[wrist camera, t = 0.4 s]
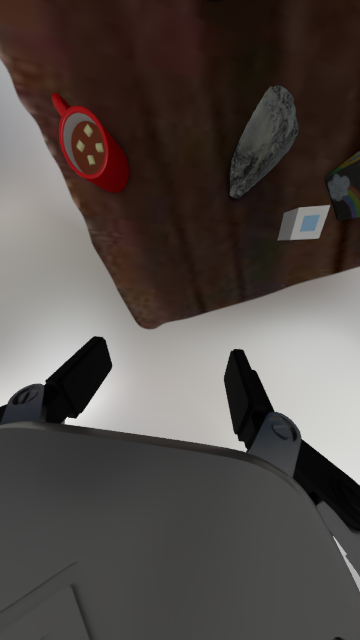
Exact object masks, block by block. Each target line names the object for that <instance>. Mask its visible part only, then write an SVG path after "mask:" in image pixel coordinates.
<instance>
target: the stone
mask: <svg viewBox="0 0 360 640" xmlns="http://www.w3.org/2000/svg"><path fill="white" fill-rule="evenodd" d="M298 132H299V130H298V122H297V119H296V115H295V105H294V99H293V96H292V95H291V94H290V93H289V91H287V90H286V89H285V88H283V87H282V86H280V85H279V84H278V85H277V86H275V87H274V88H273V87H272V86H271V87H270V88H269V89H268V91H267V92H266V93H265V94H264V96H263V98H262V100H261V101H260V103H259V104H258V106H257V108H256V110H255V111H254V113H253V114H252V117H251V119H250V120H249V122H248V124H247V126H246V128H245V130H244V132H243V134H242V136H241V138H240V141H239V144H238V146H237V148H236V150H235V153H234V156H233V159H232V163H231V169H230V182H231V183H230V196H232V197H233V198H240V197H241V196H242V195H243V194H244V193H245V192H247V191H248V190H249V189H250V188H251V187H252V186H254V185H255V184H256V183H257V182H258V181H259V180H260V179H262V178H263V177H264V176H265V175H266V174H267V173H268V172H269V171H270V170H271V169H272V168H273V167H274V166H275V165H276V164H277V163H278V162H279V161H280V160H281V159H282V157H283V156H284V155H285V154H286V153H287V152H288V151H289V149H290V148H291V146H292V144H293V142H294V140H295V138H296V137H297V135H298Z"/></svg>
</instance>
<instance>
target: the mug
mask: <svg viewBox="0 0 360 640" xmlns="http://www.w3.org/2000/svg"><path fill="white" fill-rule="evenodd" d="M52 101H53V104H54V106H55V108H56V109H57V111H58V112H59V114H60V115H61V117H62V118H61V121H60V125H59V139H60V145H61V149H62V152H63V154H64V157H65V159H66V161H67V162H68V164H69V165H70V167H71V168H72V169H73V170H74V171H75V172H76V173H77V174H78V175H79V176H81V177H83V178H85V179H86V180H88V181H90V182H92V183H93V184H95V185H97V186H99V187H100V188H102V189H104V190H106V191H107V192H110V193H118V192H120V191H122V190H123V189H124V188H125V186H126V184H127V182H128V178H129V165H128V161H127V158H126V155H125V153H124V152H123V150H122V149H121V147H120V146H119V145H118V144H117V142H116V141H115V140H114V139H113V137H112V136H111V135H110V134H109V132H108V131H107V130H106V129H105V127H104V126H103V125H102V124H101V122H100V121H99V120H98V119H97V117H96V116H95V115H94V114H93V113H92V112H91V111H89V110H88V109H86V108H84V107H81V106H73V107H71V106H70V105H69V104H68V103H67V102H66V101H65V100H64V99H63V98H62V97H61V96H60V95H59V94H57V93H53V94H52Z"/></svg>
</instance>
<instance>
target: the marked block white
mask: <svg viewBox="0 0 360 640" xmlns="http://www.w3.org/2000/svg"><path fill="white" fill-rule="evenodd" d="M329 208H330V205H327V206H314V207H302V208H297V209H294V210H291V211H288V212H285V213H284V215H283V220H282V224H281V228H280V232H279V237H278V240H299V239H316V238H319V236H320V233H321V231H322V228H323V225H324V222H325V219H326V216H327V213H328V210H329Z"/></svg>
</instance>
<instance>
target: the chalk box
mask: <svg viewBox="0 0 360 640" xmlns="http://www.w3.org/2000/svg"><path fill="white" fill-rule="evenodd" d="M325 179H326V183H327V185H328V189H329V193H330V196H331V199H332V202H333V205H334V209H335V212H336V215H337V219H338V220H339V221H340V220H345V219H352V218H358V217H360V151H359V152H357V153H356V154H355V155H353V156H352V157H351V158H349V159H348V160H347V161H346V162H344V163H343V164H342V165H340V166H339V167H338V168H336V169H335V170H334V171H333V172H331V173H330V174H329V175H328V176H326V178H325Z"/></svg>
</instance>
